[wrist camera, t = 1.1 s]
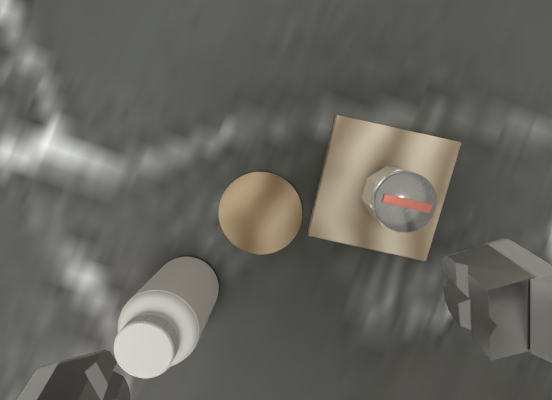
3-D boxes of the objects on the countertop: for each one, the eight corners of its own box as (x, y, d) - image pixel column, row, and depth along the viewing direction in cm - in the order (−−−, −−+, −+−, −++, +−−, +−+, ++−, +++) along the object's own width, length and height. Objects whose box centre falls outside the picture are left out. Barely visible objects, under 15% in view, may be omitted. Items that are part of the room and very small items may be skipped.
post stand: (453, 142, 43) (496, 143, 34) (419, 255, 46) (452, 284, 37) (334, 115, 43) (347, 110, 34) (307, 231, 45) (312, 254, 36)
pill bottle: (178, 242, 46) (128, 291, 31) (232, 278, 47) (207, 344, 32) (144, 291, 47) (80, 361, 32) (197, 326, 48) (157, 411, 33)
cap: (423, 173, 39) (446, 180, 33) (408, 225, 40) (428, 239, 34) (371, 162, 39) (385, 166, 33) (357, 214, 40) (369, 226, 34)
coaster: (310, 181, 44) (311, 182, 44) (292, 260, 46) (292, 262, 45) (228, 163, 44) (227, 163, 44) (212, 243, 46) (211, 244, 45)
